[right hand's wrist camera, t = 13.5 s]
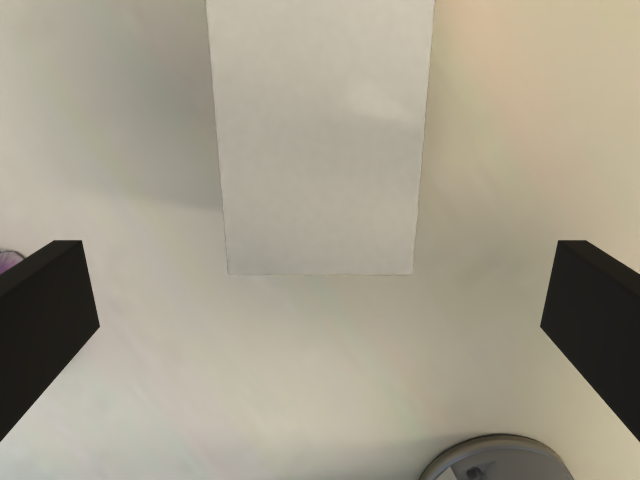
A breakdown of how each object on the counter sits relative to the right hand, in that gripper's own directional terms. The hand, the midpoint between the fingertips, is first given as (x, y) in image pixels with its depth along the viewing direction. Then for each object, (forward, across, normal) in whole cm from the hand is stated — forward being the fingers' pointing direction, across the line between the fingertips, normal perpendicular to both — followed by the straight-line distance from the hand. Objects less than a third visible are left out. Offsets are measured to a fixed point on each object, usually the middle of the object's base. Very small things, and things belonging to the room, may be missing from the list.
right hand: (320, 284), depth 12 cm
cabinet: (+21, 0, -4) cm, 21 cm away
